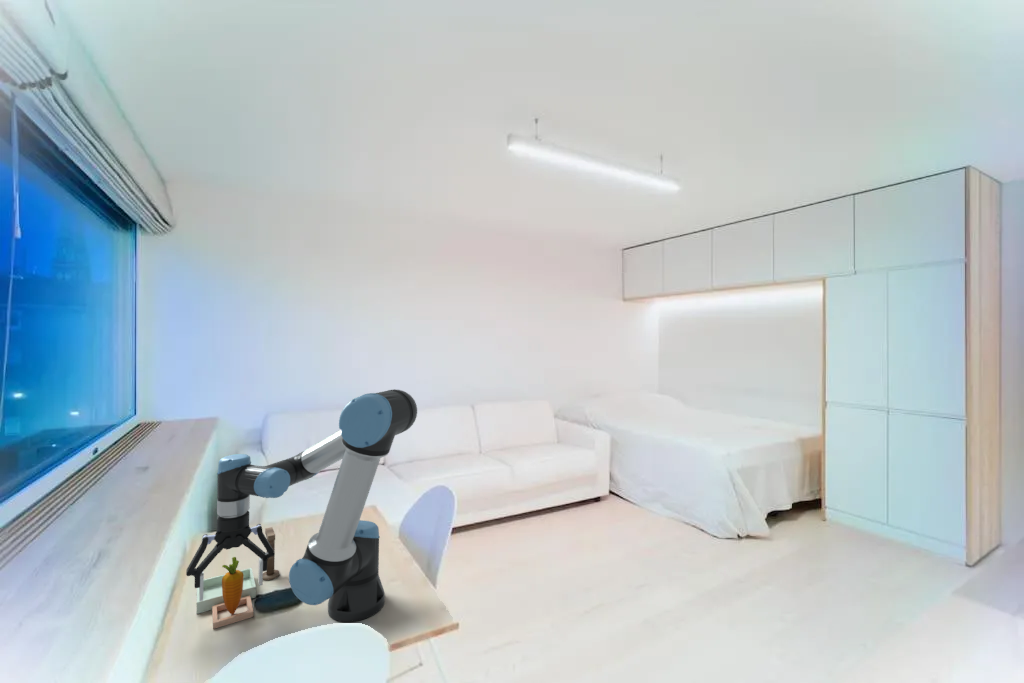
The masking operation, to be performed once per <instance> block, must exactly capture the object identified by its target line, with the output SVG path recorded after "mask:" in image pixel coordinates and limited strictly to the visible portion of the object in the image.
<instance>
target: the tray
mask: <svg viewBox="0 0 1024 683" xmlns="http://www.w3.org/2000/svg"><path fill="white" fill-rule="evenodd" d="M239 571H241V572H243V590H242V595H241V598H243V597H246V596H250V597H251V599H254V598H255V599H256V598H257V594H256V593H257V591H256V589H257V585H256V581H255V577H254V573H253V572H254V571H253V568H252V567H249V568H245V569H240V570H239ZM225 574H226V573H225ZM225 574H221V575H217V576H212V577H209V578H204V584H203V601H200V587H199V588H196V615H199V614H202V613H205V612H208V611H212V606H214V605H218V604H221V603H224V599H223V594H222V578H223V577H224V575H225Z"/></svg>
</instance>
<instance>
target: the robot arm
mask: <svg viewBox="0 0 1024 683" xmlns="http://www.w3.org/2000/svg"><path fill="white" fill-rule="evenodd" d="M417 417H418V407H417V402H416V400H415V399H414V397H412V395H411V394H410V393H408V392H406V391H404V390H401V389H388V390H385V391H380V392H371V393H364V394H362V395H359V396H357V397H355V398H352V400H350V401H349V402H347V404H345V405H344V407H343V409H342V411H341V413H340V415H339V420H338V426H339V427H338V428H339V430H338V431H336V432H334V433H332V434H331V435H329V436H326V437H325V438H324V439H322V440H320V441H318V442H317V443H315V444H313V445H311V446H310V447H308V448H307V449H305V450H303V451H301V452H299V453H298V454H296V455H294V456H292V457H289V458H286V459H282V460H280V461H276V462H274V463H270V464H268V465H254V464H252V461H251V456H250V455H248V454H244V453H237V454H230V455H229V454H228V455H226V456H223V457H222V458H220V459H219V461H218V466H217V473H216V475H217V487H216V488H217V501H216V514H217V516H216V532H215V534H212V535H211V534H209V535H208V534H207V533H204V534H203V535H202V538H201V542H200V544H199V547H198V549H197V550H196V552H195V554H194V556H193V557H192V559H191V561H190V563H189V565H188V566H187V568H186V572H185V575H186V576H187V577H191V576H193V578H194V589H197V588H199V587H200V601H203V584H204V579H205V578H204V577H205V576H204V575H205V574H204V573H205V572H204V571H205V570H206V568H207V567H208V566H210V564H211V563H212V561H213V560H214V559H216V557H217V555H218V554H220V553H221V552H222V551H223V550H230V549H234V548H240V547H241V546H242V545H244V547H246V548H247V549H249V550H250V551H251V552H253V554H255V556H257V557H259V558H258V573H257V574H258V575H257V577H258V579H257V580H258V585H259V586H263V581H264V580H263V573H264V572H266V570H267V560H268V558H269V557H273V556H274V555H276V554H275V553H274V550H273V548H272V547H271V545H270V543H269V542H268V540H267V537H266V534H265V533H264V532H263V528H262V524H261V523H258V524H256V525H254V526H252V527H250V511H249V510H250V507H251V506H250V504H251V503H250V499H251V498H250V497H251V496H254V497H255V496H256V497H260V498H264V499H276V498H280V497H281V496H283V495H284V494H285V493H286V492H287V491H288V489H289V487H291V486H293V485H295V484H298V483H301V482H303V481H307V480H310V479H311V478H313V477H315V476H316V475H318V474H319V472H321V471H322V470H325V469H326V468H327V469H328V467H330V466H332V465H334V464H335V463H337V462H339V461H341V463H340V466H339V469H338V472H337V475H336V478H335V481H334V484H333V487H332V490H331V493H330V496H329V500H328V502H327V505H326V509H325V511H324V515H323V518H322V520H321V524H320V526H319V530H318V532H317V533H314V534H313V535H311V536H310V538H309V540H308V543H307V546H306V548H305V552H304V555H303V556H302V557H301V558H299V559H297V560H296V561H295V562H294V563H293V564H292V566H291V567H290V570H289V572H288V581H289V582H288V583H289V586H290V588H291V590H292V593H293V594H294V595H295V596H296V598H297V599H299V600H300V601H301V602H302V603H304V604H306V605H309V606H317V605H320V604H322V603H323V604H324V602H326V601H327V600H328V601H327V602H328V603H327V614H328V615H329V617H330V618H332V619H333V620H334V621H338V622H342V623H349V622H350V623H351V622H359V621H362V620H366V619H369V618H370V617H372V616H374V615H376V614H377V613H378V612H379V611H381V610H382V609H383V607H384V605H385V602H386V601H385V600H386V599H385V598H386V596H385V590H384V587H383V584H382V580H381V578H380V575H379V574H380V573H379V568H380V567H379V564H380V562H379V561H380V560H379V558H380V555H379V554H380V538H381V537H380V530H379V526H378V524H376V523H375V522H374V521H369V520H361V518H362V514H363V511H364V508H365V505H366V502H367V499H368V496H369V493H370V490H371V488H372V485H373V482H374V479H375V475H376V473H377V469H378V467H379V464H380V462H381V459H382V458H383V457H386V456H388V455H389V453H390V451H391V448H392V445H393V443H394V440H395V436H397V435H399V434H402V433H404V432H406V431H408V430H409V429H410V428H411V427H412V426H413V425H414V423H415V422H416V420H417ZM251 533H253V534H254V535H257V537H258V539H259V540H260V543H262V546H264V549H265V550H266V552H265V551H264V550H263V549H262V548H260V547H259V546H258V545H257V544H255V543H254V542H253V541H252V540H251V539H250V538H249V536H250V535H251ZM213 541H214V542H216V544H215V545H214V547H213V548H212V549H211V551H210V552H209V553H208V554H207V556H206V557H205V558H203V560H202V561H201V562H200V563H199V561H200V560H201V558H202V556H203V555H204V553H205V551H206V549H207V547H208V545H210V544H212V542H213ZM197 565H198V566H197Z"/></svg>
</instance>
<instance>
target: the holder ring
mask: <svg viewBox="0 0 1024 683" xmlns="http://www.w3.org/2000/svg"><path fill="white" fill-rule="evenodd" d="M242 605H246V609H247V611H243V612H240V613H236V614H231V615H230V616H226V617H223V618H219V619H218V612H221V611H225V610H226V611H227V608H226V606H225V603H221V604H218V605H214V606H212V610H211V612H212V615H211V617H212V629H213V630H215V629H218V628H221V627H224V626H229V625H231V624H234V623H237V622H241V621H244V620H248V619H250V618H253V617H254V608H253V604H252V598H251V597H250V596H246V597H243V598H241V599H240V602H239V605H238V607H239V606H242Z"/></svg>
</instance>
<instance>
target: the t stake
mask: <svg viewBox="0 0 1024 683" xmlns="http://www.w3.org/2000/svg"><path fill="white" fill-rule="evenodd" d="M264 535H265V537H266V539H267V540H268V542H269V543H270V545H271V547H272V548H273V550H274V553H275V551H276V550H275V548H276V547H275V546H276V545H275V543H276V542H275V541H276V533H275V531H274V528H273V526H271V527H266V528H264ZM275 555H276V554H275ZM275 555H274V556H273V557H269V558H268V560H267V570H266V571H263V581H265V582H266V581H273V580H275V579H277V578H279V576H280V570H278V569H275Z"/></svg>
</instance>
